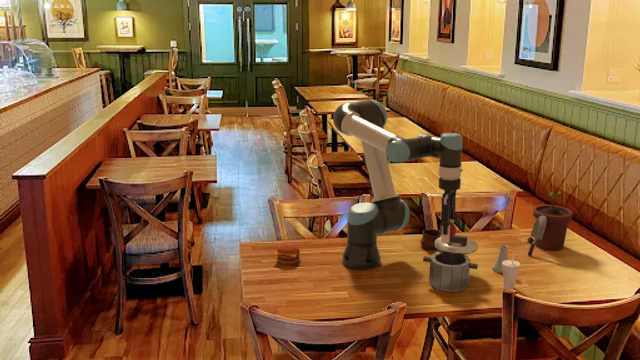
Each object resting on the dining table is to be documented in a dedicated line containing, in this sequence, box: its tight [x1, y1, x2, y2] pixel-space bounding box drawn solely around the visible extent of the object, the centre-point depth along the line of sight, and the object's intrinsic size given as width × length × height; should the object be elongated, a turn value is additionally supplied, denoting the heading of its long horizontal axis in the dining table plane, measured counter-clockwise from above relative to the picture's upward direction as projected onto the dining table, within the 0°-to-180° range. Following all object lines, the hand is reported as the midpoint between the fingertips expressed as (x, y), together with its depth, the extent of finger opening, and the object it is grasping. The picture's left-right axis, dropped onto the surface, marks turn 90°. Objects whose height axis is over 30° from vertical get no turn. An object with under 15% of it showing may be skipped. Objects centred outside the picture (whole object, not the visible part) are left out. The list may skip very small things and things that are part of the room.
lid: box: [435, 234, 479, 255], centre depth 237 cm, size 16×16×4 cm
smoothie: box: [502, 251, 521, 290], centre depth 225 cm, size 6×6×14 cm
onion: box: [438, 222, 457, 239], centre depth 224 cm, size 6×6×8 cm
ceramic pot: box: [420, 228, 442, 251], centre depth 263 cm, size 18×18×7 cm
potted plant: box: [527, 191, 574, 257], centre depth 261 cm, size 18×22×25 cm
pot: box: [422, 251, 479, 293], centre depth 229 cm, size 20×14×10 cm
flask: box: [492, 244, 509, 274], centre depth 241 cm, size 7×7×10 cm
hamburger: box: [274, 242, 302, 265], centre depth 250 cm, size 9×10×7 cm
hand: (447, 239), depth 225 cm, fingers closed on onion, 6 cm apart
